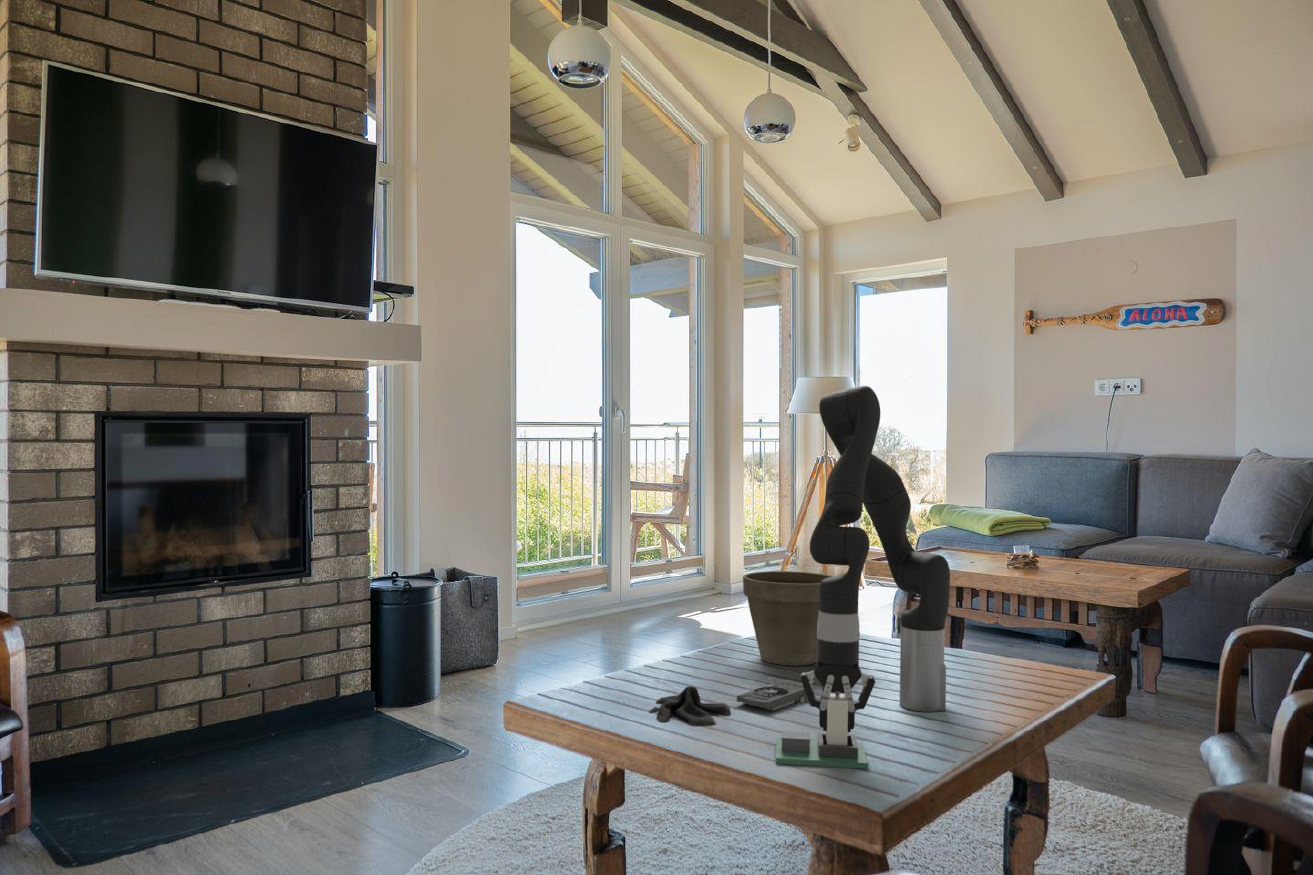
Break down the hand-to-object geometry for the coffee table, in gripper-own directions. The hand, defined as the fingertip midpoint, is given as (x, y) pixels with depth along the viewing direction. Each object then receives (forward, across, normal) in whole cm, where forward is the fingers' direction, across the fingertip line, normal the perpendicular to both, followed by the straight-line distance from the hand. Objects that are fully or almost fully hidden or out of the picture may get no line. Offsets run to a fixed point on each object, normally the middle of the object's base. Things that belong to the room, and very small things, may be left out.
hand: (836, 729), depth 173 cm
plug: (+2, 0, 0) cm, 2 cm away
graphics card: (+5, +13, -34) cm, 37 cm away
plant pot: (+5, +8, -74) cm, 75 cm away
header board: (+5, +3, 0) cm, 6 cm away
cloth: (+6, +30, -22) cm, 38 cm away
